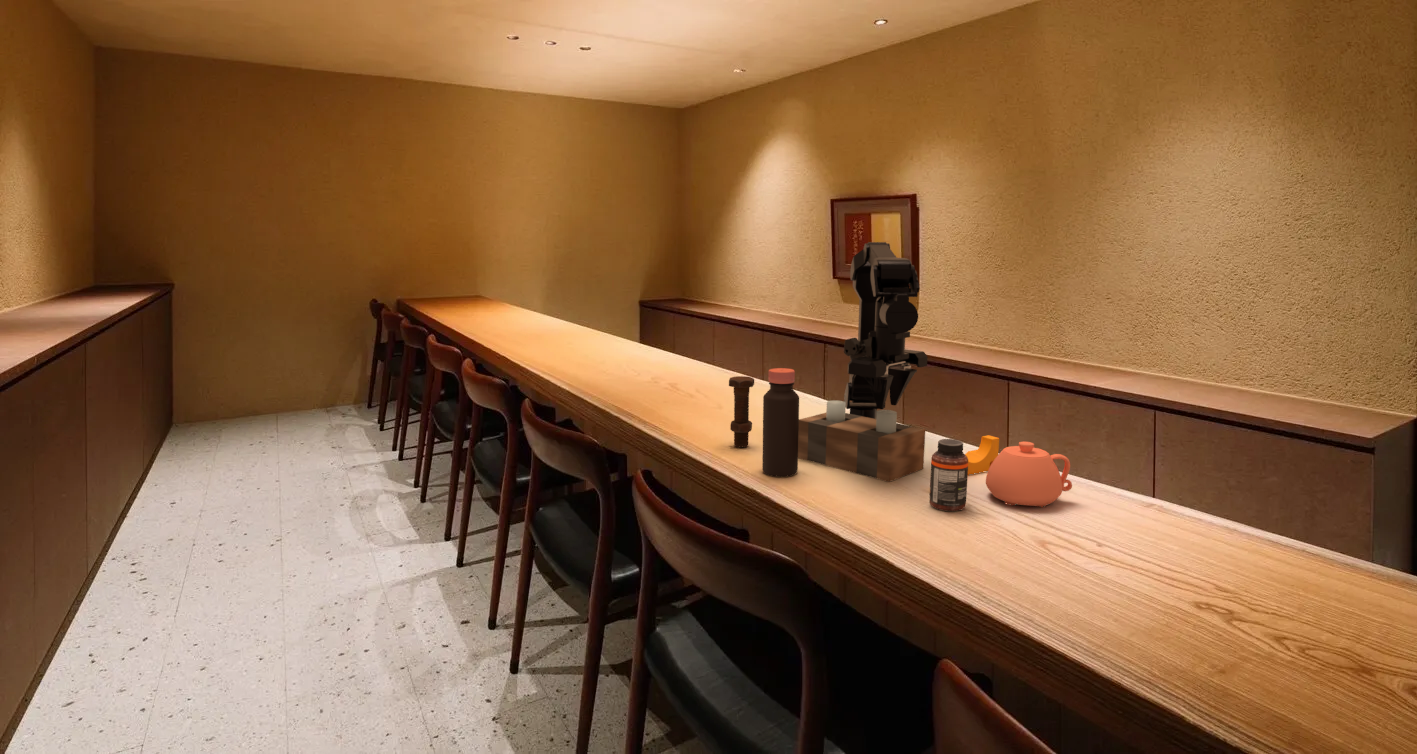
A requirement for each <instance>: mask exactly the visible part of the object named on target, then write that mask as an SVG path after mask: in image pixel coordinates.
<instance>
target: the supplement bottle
mask: <svg viewBox="0 0 1417 754" xmlns="http://www.w3.org/2000/svg"><path fill="white" fill-rule="evenodd" d="M963 450H964V442H963V441H962V440H959V439H953V438H942V439H939V440H938V442H937V451H935V452H933V454H932V455H931V459H930V460H931V461H930V481H929V483H930V484H929V497H928V498H929V504H930V505H929V506H931V507H933V508H934V509H937V510H940V511H944V512H956V511H961V510H963V509H965V508H966V506H967V505H966V504H967V492H968V491H967V489H968V476H969V475H968V457H967V456H966V455H965V454H966V453H964V451H963Z"/></svg>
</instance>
